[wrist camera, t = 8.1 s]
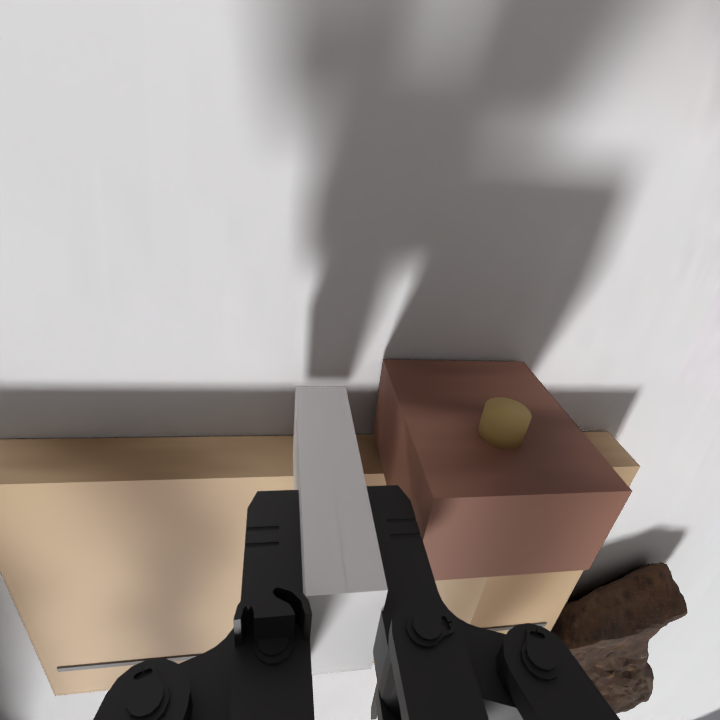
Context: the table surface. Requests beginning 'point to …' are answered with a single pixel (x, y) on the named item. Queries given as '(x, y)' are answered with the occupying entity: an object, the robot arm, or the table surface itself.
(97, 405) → the table surface
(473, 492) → the block
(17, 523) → the board
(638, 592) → the rock
